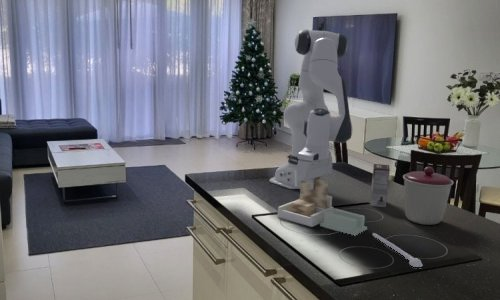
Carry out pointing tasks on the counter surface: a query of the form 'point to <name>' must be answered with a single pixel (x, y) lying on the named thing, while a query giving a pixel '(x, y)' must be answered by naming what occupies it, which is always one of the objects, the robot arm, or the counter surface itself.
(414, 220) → the canister
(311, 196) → the birch panel
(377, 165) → the coffee box
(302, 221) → the rack
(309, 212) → the offcut stack
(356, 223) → the holder
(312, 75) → the robot arm
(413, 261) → the white ladle
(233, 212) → the counter surface
